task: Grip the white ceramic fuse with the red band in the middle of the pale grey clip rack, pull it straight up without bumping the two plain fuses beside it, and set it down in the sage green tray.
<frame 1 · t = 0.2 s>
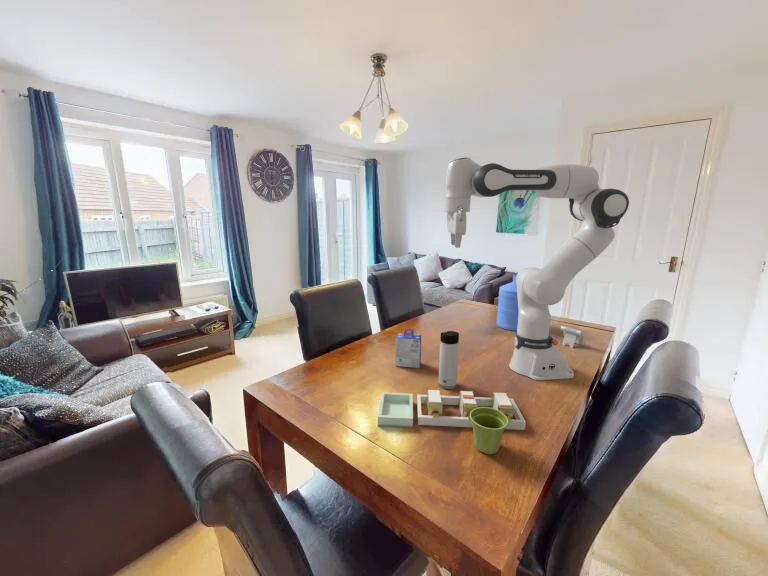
hand: (455, 246, 118), 48 cm above the table, tool pointing down, fingers open, 8 cm apart
ink cartridge box: (408, 364, 131), on the table
travel mug: (447, 385, 115), on the table
plant pot: (486, 447, 85), on the table
sage tray: (396, 413, 99), on the table
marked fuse: (467, 414, 98), resting in clip rack
water jug: (511, 326, 174), on the table
plain fuse 1: (433, 413, 99), resting in clip rack
plain fuse 2: (501, 416, 98), resting in clip rack
clip rack: (467, 414, 98), on the table
portable electronic device stand: (571, 345, 150), on the table
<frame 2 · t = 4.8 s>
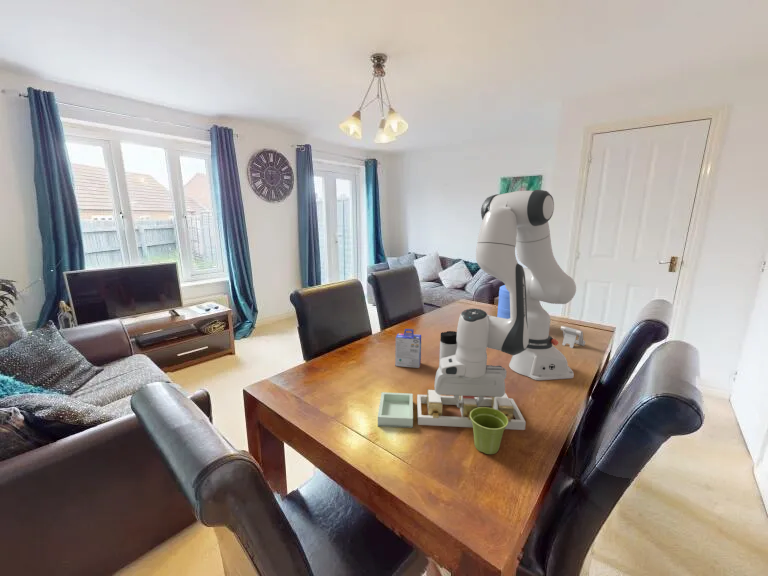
hand: (467, 407, 98), 3 cm above the table, tool pointing down, fingers closed on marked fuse, 3 cm apart
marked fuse: (467, 414, 98), resting in clip rack, touching gripper
everything else where it was.
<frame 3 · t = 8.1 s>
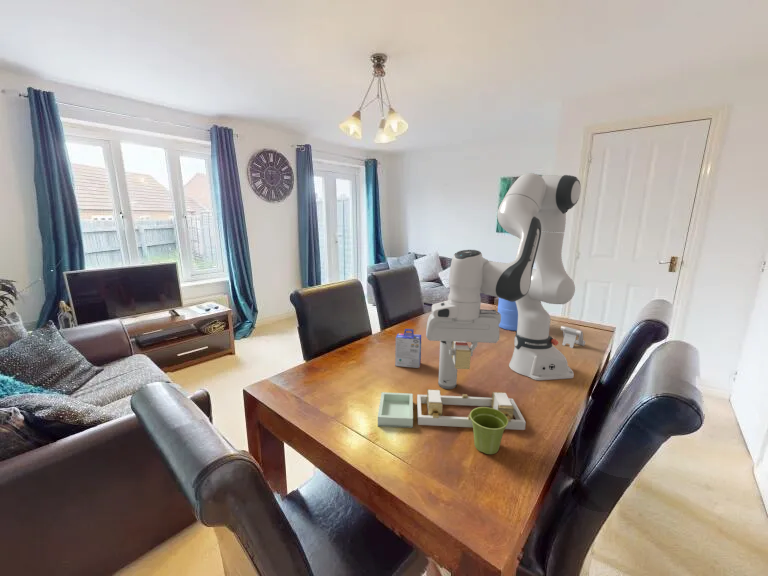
hand: (460, 355, 94), 20 cm above the table, tool pointing down, fingers closed on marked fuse, 3 cm apart
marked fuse: (460, 363, 94), point 17 cm above the table, touching gripper
everything else where it was.
when the fingers open (5 cm above the table, at t = 11.5 s): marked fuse drops 1 cm, resting on sage tray.
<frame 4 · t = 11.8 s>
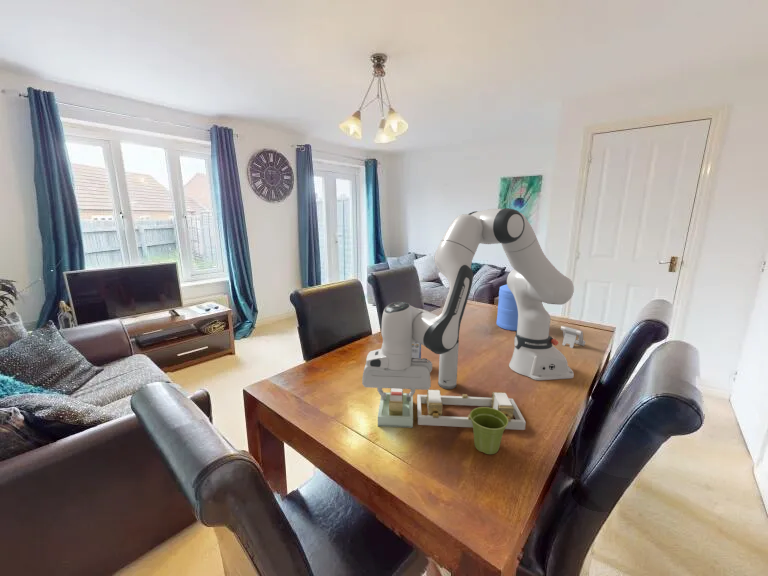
hand: (396, 399, 98), 5 cm above the table, tool pointing down, fingers open, 6 cm apart
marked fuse: (396, 411, 99), point 1 cm above the table, touching sage tray
everything else where it was.
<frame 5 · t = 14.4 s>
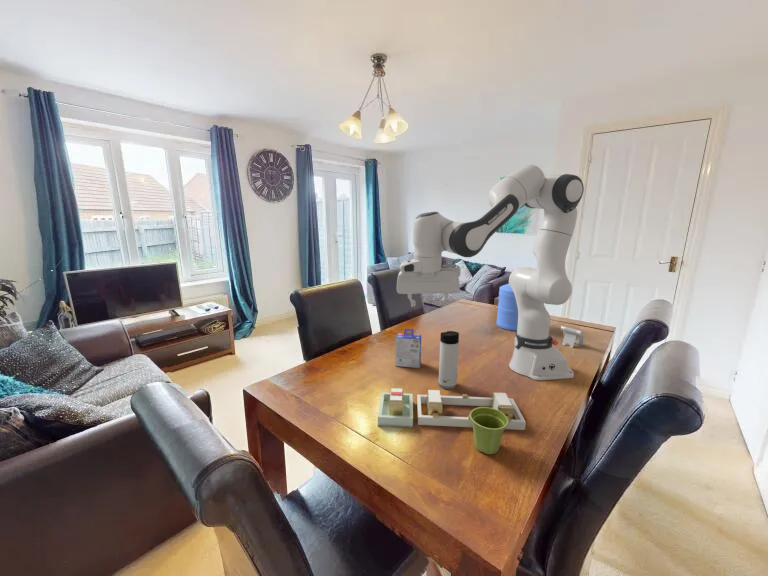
hand: (427, 306, 107), 30 cm above the table, tool pointing down, fingers open, 8 cm apart
nothing on the table moved.
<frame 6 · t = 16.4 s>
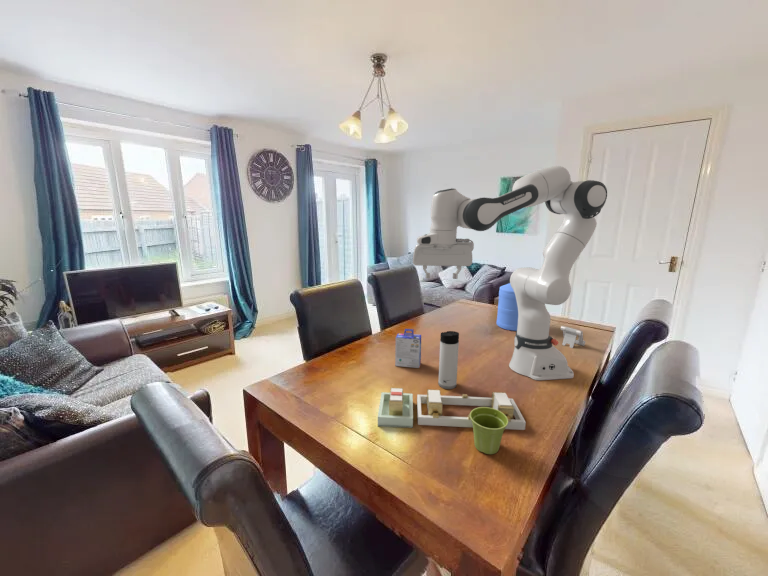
hand: (441, 278, 114), 37 cm above the table, tool pointing down, fingers open, 8 cm apart
nothing on the table moved.
at the end: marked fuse 0.1 cm off-centre on the sage tray, point 0.6 cm above the sage tray's base; plain fuse 2 moved 0.1 cm from its start; plain fuse 1 moved 0.1 cm from its start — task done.
